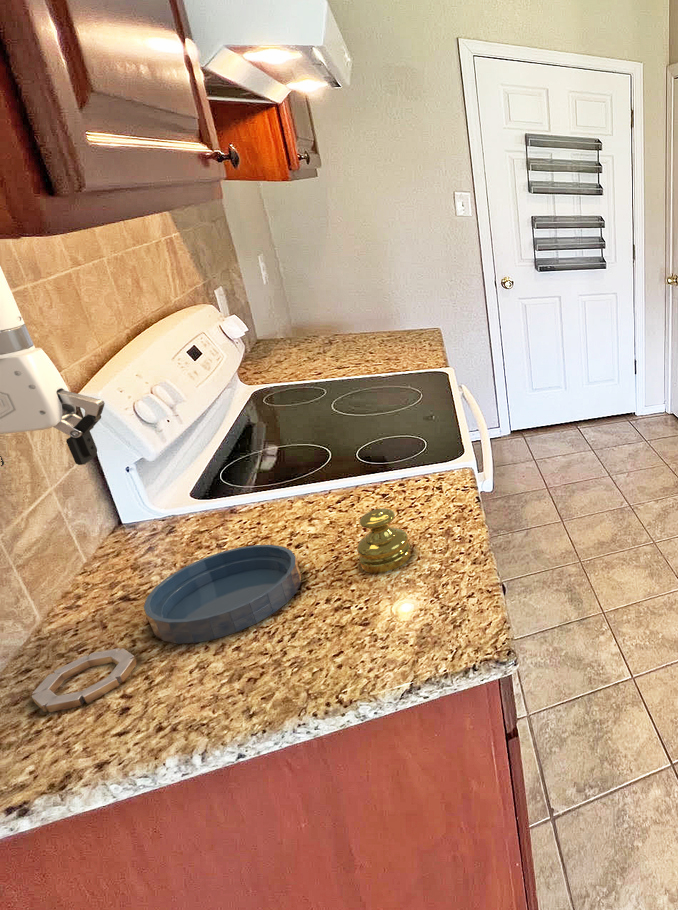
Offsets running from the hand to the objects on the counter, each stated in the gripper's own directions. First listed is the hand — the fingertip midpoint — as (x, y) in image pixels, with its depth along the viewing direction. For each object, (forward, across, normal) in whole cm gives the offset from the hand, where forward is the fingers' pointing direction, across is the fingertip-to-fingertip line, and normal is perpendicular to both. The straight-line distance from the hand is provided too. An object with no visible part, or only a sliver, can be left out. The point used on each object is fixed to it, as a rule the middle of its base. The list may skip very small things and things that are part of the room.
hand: (41, 465), depth 77 cm
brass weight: (+24, +38, -2) cm, 45 cm away
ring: (+23, +7, -18) cm, 30 cm away
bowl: (+23, +18, -6) cm, 30 cm away
